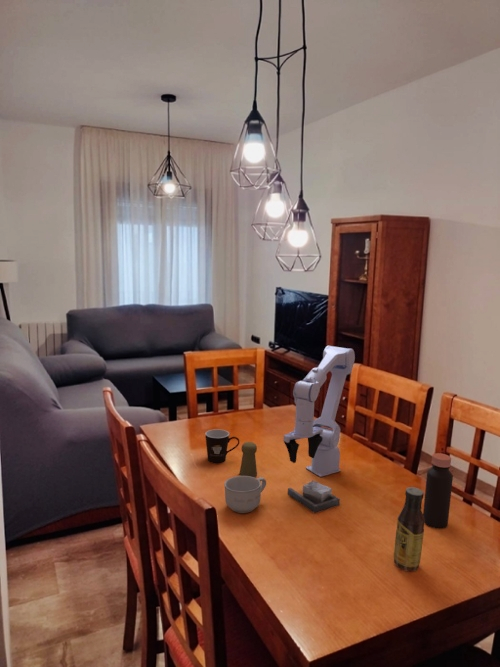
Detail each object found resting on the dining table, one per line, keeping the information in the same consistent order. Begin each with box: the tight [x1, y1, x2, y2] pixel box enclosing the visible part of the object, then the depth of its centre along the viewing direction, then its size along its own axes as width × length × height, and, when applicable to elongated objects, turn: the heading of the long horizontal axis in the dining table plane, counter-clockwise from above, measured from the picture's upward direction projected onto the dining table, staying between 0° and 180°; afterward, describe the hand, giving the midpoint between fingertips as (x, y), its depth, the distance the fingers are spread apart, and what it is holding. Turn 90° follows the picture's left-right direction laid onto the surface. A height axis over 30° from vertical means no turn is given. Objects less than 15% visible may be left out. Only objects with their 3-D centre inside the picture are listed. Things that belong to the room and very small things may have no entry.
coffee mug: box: [204, 428, 240, 465], centre depth 175 cm, size 12×9×10 cm
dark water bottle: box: [422, 452, 454, 530], centre depth 137 cm, size 7×7×20 cm
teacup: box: [223, 475, 267, 514], centre depth 144 cm, size 14×11×8 cm
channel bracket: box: [287, 487, 341, 514], centre depth 149 cm, size 10×13×2 cm
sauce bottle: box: [393, 486, 425, 573], centre depth 117 cm, size 6×6×20 cm
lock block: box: [302, 480, 332, 505], centre depth 148 cm, size 5×7×5 cm
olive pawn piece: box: [239, 441, 258, 478], centre depth 165 cm, size 6×6×11 cm
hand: (302, 459), depth 156 cm, fingers open, 7 cm apart
